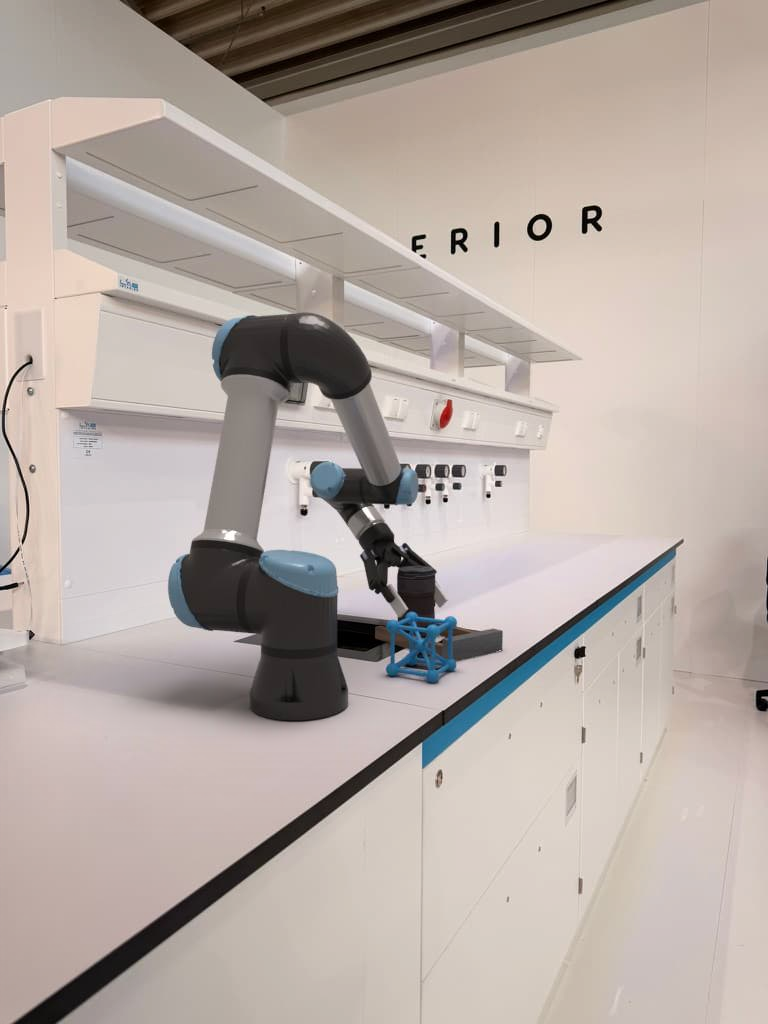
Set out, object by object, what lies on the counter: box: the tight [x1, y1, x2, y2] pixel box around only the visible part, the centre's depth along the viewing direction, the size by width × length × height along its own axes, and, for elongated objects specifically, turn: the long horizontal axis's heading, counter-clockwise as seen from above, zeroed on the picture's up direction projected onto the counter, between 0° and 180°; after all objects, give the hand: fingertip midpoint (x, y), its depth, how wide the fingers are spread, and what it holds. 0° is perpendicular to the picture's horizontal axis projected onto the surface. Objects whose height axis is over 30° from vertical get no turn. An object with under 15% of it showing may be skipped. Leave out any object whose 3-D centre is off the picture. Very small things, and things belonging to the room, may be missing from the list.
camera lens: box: [396, 566, 437, 638], centre depth 155 cm, size 8×8×15 cm
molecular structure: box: [385, 612, 458, 684], centre depth 130 cm, size 10×10×10 cm
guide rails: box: [374, 623, 477, 657], centre depth 152 cm, size 14×21×2 cm
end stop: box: [441, 628, 504, 662], centre depth 143 cm, size 14×2×4 cm, turn 129°
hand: (424, 608), depth 154 cm, fingers open, 13 cm apart
